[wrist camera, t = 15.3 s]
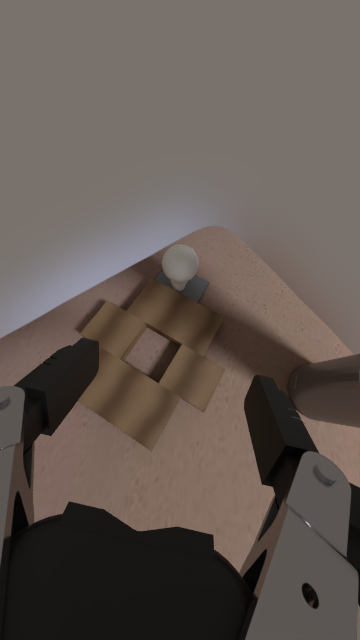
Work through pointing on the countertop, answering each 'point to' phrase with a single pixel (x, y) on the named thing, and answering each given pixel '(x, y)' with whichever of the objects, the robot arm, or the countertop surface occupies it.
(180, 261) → the lightbulb
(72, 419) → the countertop surface
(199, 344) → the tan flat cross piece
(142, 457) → the countertop surface
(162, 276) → the slate mat
